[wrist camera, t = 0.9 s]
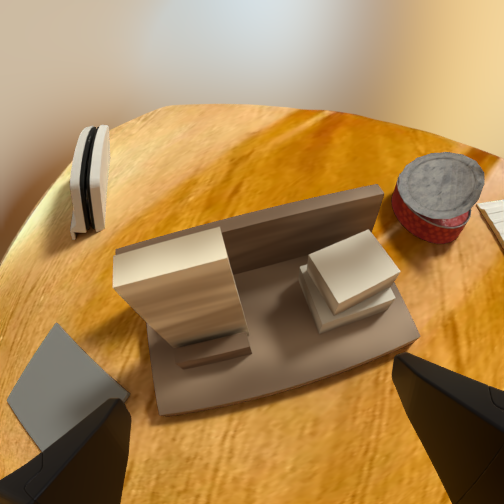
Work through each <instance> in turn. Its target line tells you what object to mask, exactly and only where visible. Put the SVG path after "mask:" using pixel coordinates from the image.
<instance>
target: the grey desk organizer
mask: <svg viewBox="0 0 504 504" xmlns="http://www.w3.org/2000/svg"><path fill="white" fill-rule="evenodd" d="M383 196H384V192H383V191H382V190H381V188H380V187H379V186H378V184H375V185H370V186H365V187H361V188H356V189H351V190H346V191H342V192H337V193H332V194H328V195H323V196H319V197H314V198H310V199H306V200H301V201H297V202H293V203H288V204H284V205H280V206H276V207H272V208H267V209H263V210H259V211H255V212H251V213H247V214H243V215H239V216H235V217H231V218H227V219H223V220H219V221H216V222H212V223H208V224H204V225H200V226H197V227H193V228H189V229H186V230H182V231H178V232H175V233H171V234H167V235H164V236H160V237H157V238H153V239H150V240H146V241H143V242H139V243H136V244H132V245H129V246H125V247H122V248H119V249H116V255H119V254H122V253H126V252H129V251H133V250H136V249H140V248H143V247H147V246H150V245H154V244H157V243H161V242H165V241H168V240H172V239H175V238H179V237H183V236H187V235H190V234H194V233H198V232H202V231H205V230H209V229H213V228H217V227H220V229H221V233H222V237H223V240H224V244H225V248H226V251H227V255H228V259H229V262H230V266H231V270H232V273H233V277H234V280H235V284H236V288H237V291H238V295H239V298H240V302H241V305H242V309H243V312H244V316H245V320H246V323H247V327H248V331H249V334H250V335H247V334H246V332H242V333H238V334H234V335H230V336H226V337H222V338H218V339H214V340H210V341H206V342H201V343H197V344H193V345H188V346H184V347H179V348H173V347H172V346H171V345H170V344H169V343H168V342H167V341H166V340H164V339H163V338H162V337H161V336H160V335H159V334H158V333H157V332H156V331H155V330H154V329H153V328H152V327H151V326H150V325H149V324H148V323H147V322H146V324H147V334H148V343H149V351H150V359H151V367H152V374H153V381H154V388H155V394H156V400H157V406H158V411H159V415H160V416H165V417H168V416H175V415H181V414H187V413H193V412H199V411H204V410H209V409H214V408H219V407H224V406H229V405H233V404H238V403H242V402H246V401H250V400H254V399H258V398H262V397H266V396H270V395H273V394H277V393H280V392H284V391H287V390H291V389H294V388H297V387H300V386H304V385H307V384H310V383H313V382H316V381H319V380H322V379H325V378H328V377H331V376H333V375H336V374H339V373H342V372H344V371H347V370H350V369H352V368H355V367H358V366H360V365H363V364H365V363H368V362H370V361H373V360H375V359H377V358H380V357H382V356H384V355H387V354H389V353H391V352H394V351H396V350H398V349H400V348H402V347H405V346H407V345H409V344H411V343H413V342H415V341H416V340H417V339H418V338H419V337H421V336H420V334H419V332H418V330H417V328H416V325H415V323H414V321H413V319H412V317H411V315H410V313H409V311H408V309H407V307H406V305H405V303H404V301H403V299H402V297H401V295H400V293H399V291H398V289H397V287H396V285H395V283H393V284H392V286H390V288H391V290H392V292H393V294H394V296H395V298H396V299H395V300H394V301H393V303H392V304H391V306H390V307H389V308H388V310H385V311H383V312H380V313H378V314H375V315H372V316H370V317H367V318H364V319H361V320H359V321H356V322H353V323H350V324H348V325H345V326H342V327H339V328H336V329H333V330H330V331H327V332H324V333H321V334H319V333H318V330H317V328H316V325H315V322H314V320H313V317H312V314H311V312H310V309H309V306H308V304H307V301H306V299H305V296H304V293H303V291H302V288H301V286H300V283H299V280H298V279H299V268H300V266H303V265H307V264H308V255H309V254H311V253H314V252H316V251H319V250H321V249H323V248H326V247H328V246H331V245H333V244H335V243H338V242H340V241H342V240H345V239H347V238H350V237H352V236H354V235H357V234H359V233H361V232H364V231H366V230H368V229H369V231H370V232H371V233H372V230H373V227H374V224H375V221H376V218H377V215H378V212H379V209H380V206H381V203H382V199H383Z"/></svg>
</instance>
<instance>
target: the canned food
mask: <svg viewBox="0 0 504 504" xmlns="http://www.w3.org/2000/svg"><path fill="white" fill-rule="evenodd" d="M483 186H484V172H483V170H482V169H481V167H480V166H479V165H478V163H477V162H476V161H475V160H472V159H470V158H468V157H466V156H464V155H462V154H455V153H450V152H443V153H431V154H428V155H425V156H422V157H418V158H416V159H415V160H414V161H412V162H411V163H410V164H408V165H406V167H405V168H404V170H403V172H402V173H401V174H400V175H399V177H398V180H397V183H396V187H395V190H394V193H393V195H392V208H393V211H394V213H395V215H396V217H397V219H398V220H399V221H400V223H401V224H402V225H403V226H404V227H405V228H406V229H407V230H408V231H409V232H411V233H412V234H413V235H415V236H417V237H418V238H420V239H422V240H425V241H427V242H431V243H436V244H445V243H450V242H452V241H453V240H455V239H456V238H457V237H458V236H459V234H460V233H461V231H462V230H463V228H464V226H465V225H466V223H467V222H468V220H469V218H470V215H471V208H472V206H473V205H474V204H475V203H476V202H477V201H478V199H479V197H480V194H481V191H482V188H483Z"/></svg>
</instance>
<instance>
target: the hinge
mask: <svg viewBox="0 0 504 504" xmlns="http://www.w3.org/2000/svg"><path fill="white" fill-rule="evenodd" d="M109 165H110V143H109V126H106V125H101V126H100V127H98V128H97V129H96V127H93V126H90V127H87V128H85V129H83V131H82V133H81V134H80V136H79V139H78V142H77V145H76V149H75V153H74V158H73V163H72V170H71V178H70V191H71V198H72V204H73V214H72V221H71V228H70V233H71V237H72V240H76V232H81V233H86V230H87V229H89V226H90V218H91V222H92V228H93V229H96V232H98V231H102V230H103V229H105V212H106V197H107V185H108V174H109Z"/></svg>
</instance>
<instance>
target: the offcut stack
mask: <svg viewBox="0 0 504 504" xmlns="http://www.w3.org/2000/svg"><path fill="white" fill-rule="evenodd" d="M399 273H400V270H399V269H398V268H397V266H396V265H395V263H394V262H393V261H392V259H391V258H390V257H389V255H388V254H387V253H386V251H385V250H384V249H383V247H382V246H381V245H380V243H379V242H378V241H377V240H376V238H375V237H374V236H373V234H372V233H371V232H370V231H369V229H368V230H366V231H364V232H361V233H359V234H357V235H354V236H352V237H350V238H347V239H345V240H342V241H340V242H338V243H335V244H333V245H331V246H328V247H326V248H323V249H321V250H319V251H316V252H314V253H311V254H309V255H308V264H307V265H303V266H300V268H299V279H298V280H299V283H300V286H301V288H302V291H303V293H304V296H305V299H306V301H307V304H308V306H309V309H310V312H311V314H312V317H313V320H314V322H315V325H316V328H317V330H318V333H319V334H321V333H324V332H327V331H330V330H333V329H336V328H339V327H342V326H345V325H348V324H350V323H353V322H356V321H359V320H361V319H364V318H367V317H370V316H372V315H375V314H378V313H380V312H383V311H385V310H388V308H389V307H390V306H391V304H392V303H393V301H394V300H395V299H396V298H395V296H394V294H393V292H392V290H391V288H390V286H392V284H393V283H394V281H395V280H396V278H397V276H398V275H399Z"/></svg>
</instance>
